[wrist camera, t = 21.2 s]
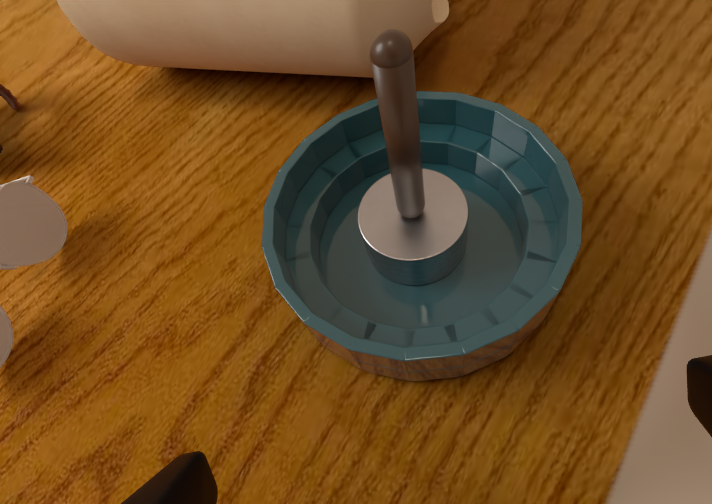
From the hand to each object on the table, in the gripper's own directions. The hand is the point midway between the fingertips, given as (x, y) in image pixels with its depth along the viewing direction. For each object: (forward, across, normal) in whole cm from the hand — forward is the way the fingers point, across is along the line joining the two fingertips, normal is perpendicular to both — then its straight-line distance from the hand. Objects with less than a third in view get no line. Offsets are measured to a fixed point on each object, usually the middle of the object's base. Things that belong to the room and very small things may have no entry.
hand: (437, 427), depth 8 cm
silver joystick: (+17, -1, +1) cm, 17 cm away
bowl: (+18, -1, +2) cm, 18 cm away
